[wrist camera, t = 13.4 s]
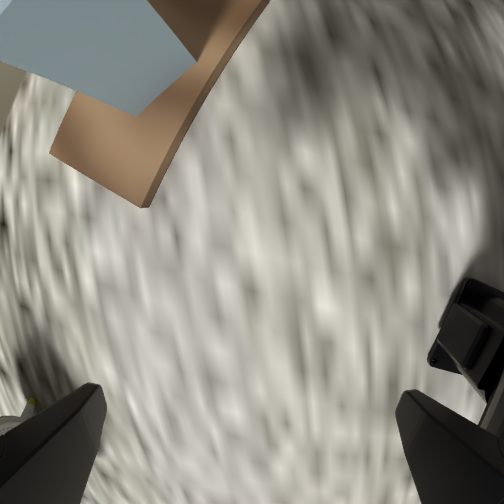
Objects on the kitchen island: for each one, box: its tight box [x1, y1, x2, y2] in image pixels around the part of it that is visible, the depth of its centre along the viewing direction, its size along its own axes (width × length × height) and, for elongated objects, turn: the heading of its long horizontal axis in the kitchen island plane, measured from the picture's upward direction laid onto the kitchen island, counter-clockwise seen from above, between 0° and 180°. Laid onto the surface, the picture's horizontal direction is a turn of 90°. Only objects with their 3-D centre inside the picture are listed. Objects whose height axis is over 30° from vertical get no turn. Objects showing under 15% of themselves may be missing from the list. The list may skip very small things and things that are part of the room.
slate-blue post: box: [0, 0, 197, 117], centre depth 11 cm, size 5×5×12 cm
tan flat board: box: [49, 0, 269, 208], centre depth 17 cm, size 16×9×1 cm, turn 151°
